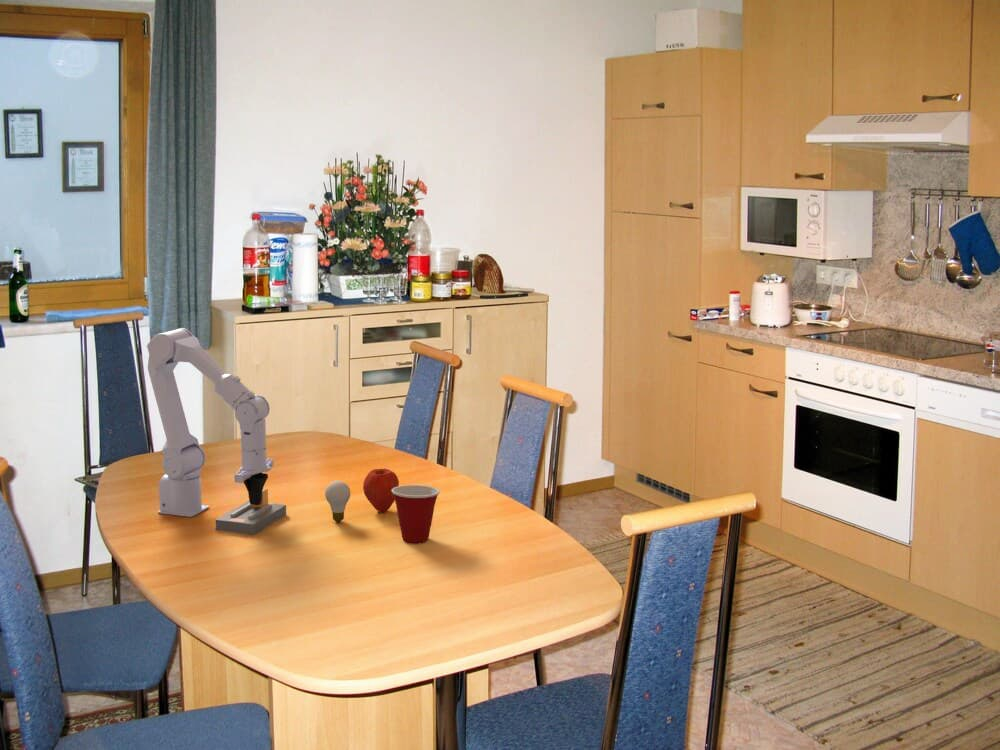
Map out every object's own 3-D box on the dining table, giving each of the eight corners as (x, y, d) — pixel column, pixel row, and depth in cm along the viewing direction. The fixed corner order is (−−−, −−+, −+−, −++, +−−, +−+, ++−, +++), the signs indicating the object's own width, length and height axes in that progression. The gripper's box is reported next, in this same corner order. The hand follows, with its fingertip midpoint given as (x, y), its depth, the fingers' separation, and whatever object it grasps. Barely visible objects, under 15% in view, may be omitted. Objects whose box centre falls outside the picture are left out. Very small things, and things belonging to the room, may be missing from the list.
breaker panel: (215, 529, 257) (215, 516, 256) (249, 510, 271) (249, 497, 270) (254, 534, 254) (253, 521, 253) (286, 514, 268) (285, 501, 267)
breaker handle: (251, 506, 265) (251, 490, 264) (257, 503, 267) (256, 487, 266) (263, 507, 264) (262, 491, 263) (268, 504, 266) (267, 488, 265)
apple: (357, 514, 269) (356, 471, 266) (374, 504, 276) (373, 462, 274) (389, 519, 265) (388, 475, 263) (405, 508, 273) (405, 466, 271)
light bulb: (346, 526, 260) (345, 485, 258) (322, 525, 261) (321, 484, 259) (354, 518, 265) (353, 478, 263) (330, 517, 266) (329, 476, 264)
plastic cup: (447, 534, 255) (447, 484, 253) (428, 550, 245) (428, 498, 243) (403, 529, 258) (403, 479, 256) (383, 544, 248) (383, 492, 246)
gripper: (252, 457, 253) (254, 515, 255) (284, 442, 266) (285, 496, 269) (225, 454, 255) (227, 511, 257) (257, 439, 268) (259, 493, 271)
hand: (255, 504), depth 263 cm, fingers closed
